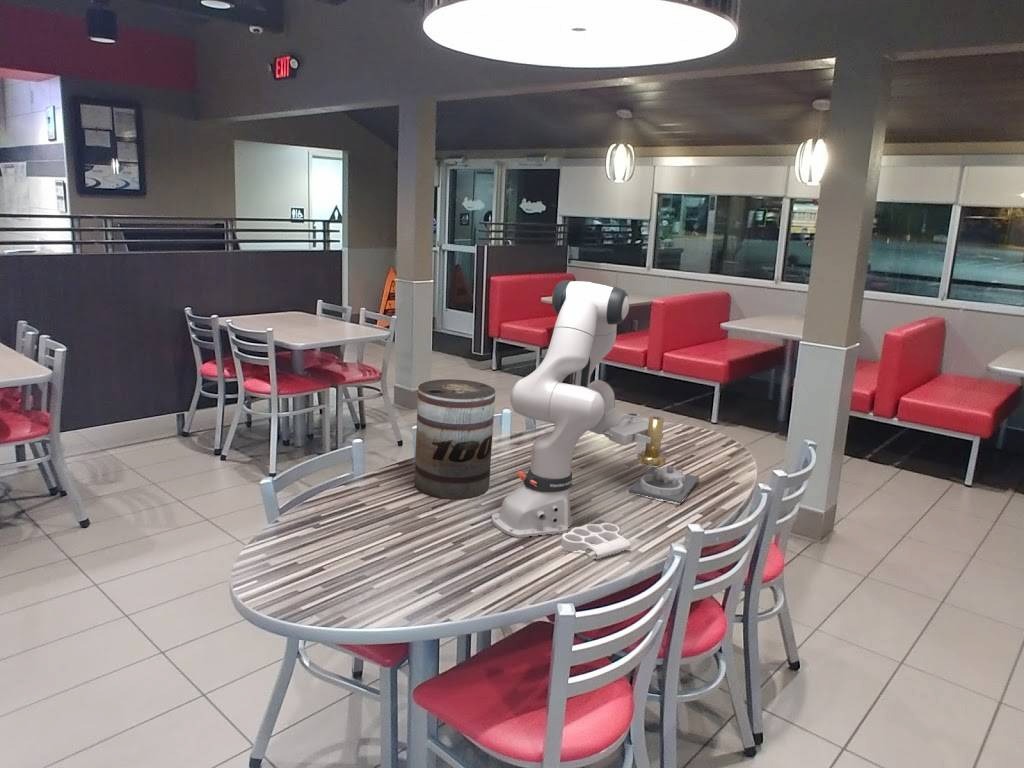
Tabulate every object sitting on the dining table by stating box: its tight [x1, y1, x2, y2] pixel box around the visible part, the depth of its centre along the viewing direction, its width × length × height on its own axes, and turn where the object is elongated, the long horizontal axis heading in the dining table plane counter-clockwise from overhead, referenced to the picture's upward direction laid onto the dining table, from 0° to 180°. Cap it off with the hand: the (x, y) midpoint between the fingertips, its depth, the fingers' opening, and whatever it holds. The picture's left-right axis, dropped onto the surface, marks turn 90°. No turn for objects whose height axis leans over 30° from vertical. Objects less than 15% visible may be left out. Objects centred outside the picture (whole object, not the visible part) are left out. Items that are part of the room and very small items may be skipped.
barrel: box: [413, 378, 497, 501], centre depth 224 cm, size 22×22×30 cm
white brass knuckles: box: [560, 522, 632, 560], centre depth 195 cm, size 3×18×15 cm
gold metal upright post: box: [636, 415, 667, 468], centre depth 232 cm, size 9×9×14 cm
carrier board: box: [628, 465, 700, 503], centre depth 238 cm, size 24×16×6 cm, turn 153°
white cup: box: [635, 442, 646, 458], centre depth 264 cm, size 8×8×10 cm
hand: (656, 438), depth 231 cm, fingers closed on gold metal upright post, 4 cm apart
